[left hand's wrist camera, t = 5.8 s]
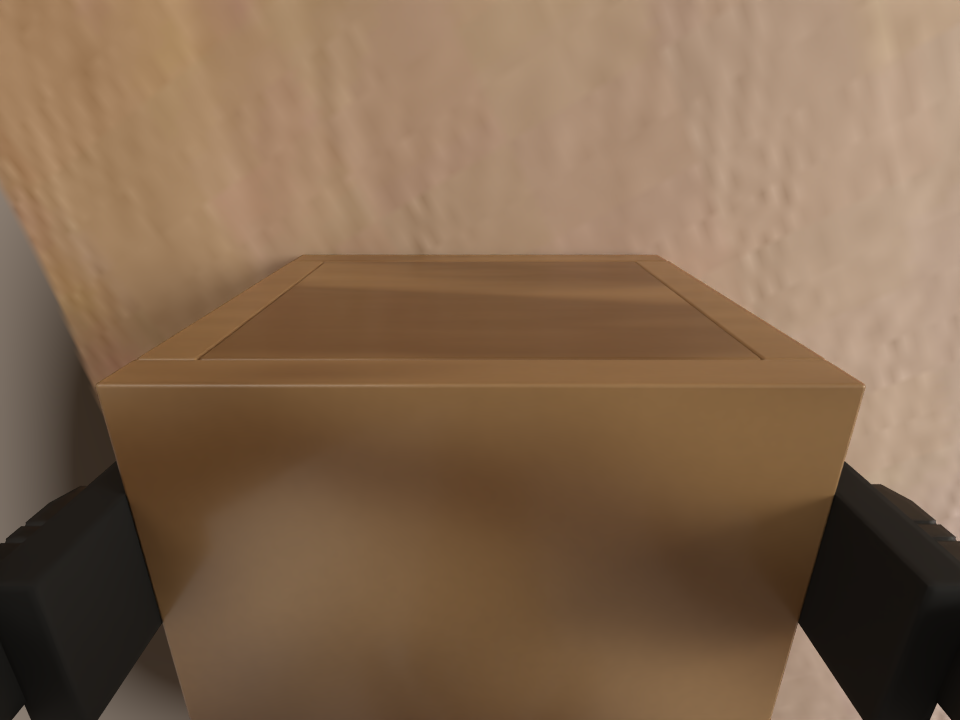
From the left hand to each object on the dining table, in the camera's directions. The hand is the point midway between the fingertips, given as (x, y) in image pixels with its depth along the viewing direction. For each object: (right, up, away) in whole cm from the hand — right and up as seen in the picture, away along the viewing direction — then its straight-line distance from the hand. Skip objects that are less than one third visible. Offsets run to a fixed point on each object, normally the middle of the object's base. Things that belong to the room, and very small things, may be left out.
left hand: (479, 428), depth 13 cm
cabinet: (0, -3, +7) cm, 7 cm away
